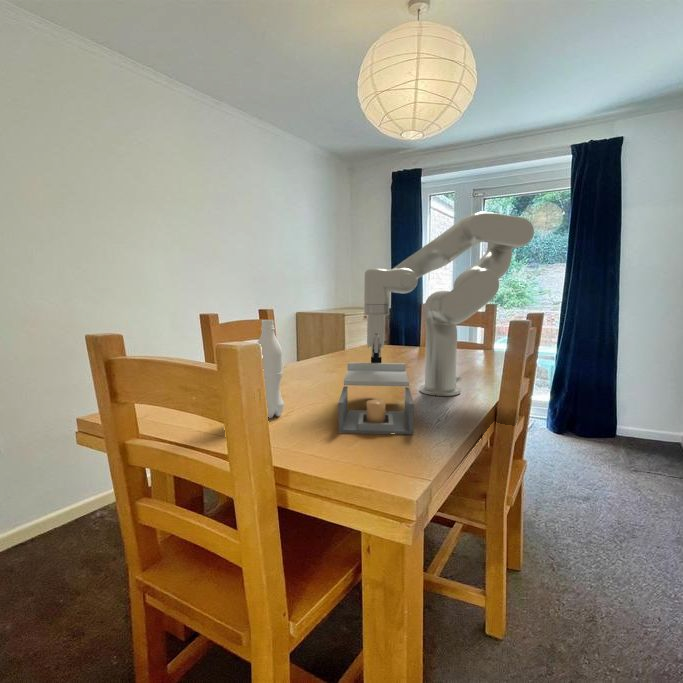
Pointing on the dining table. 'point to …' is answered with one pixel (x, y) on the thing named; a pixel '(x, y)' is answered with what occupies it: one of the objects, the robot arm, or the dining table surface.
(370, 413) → the tan egg-shaped pebble
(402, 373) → the lid
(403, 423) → the housing
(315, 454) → the dining table surface
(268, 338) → the water bottle
